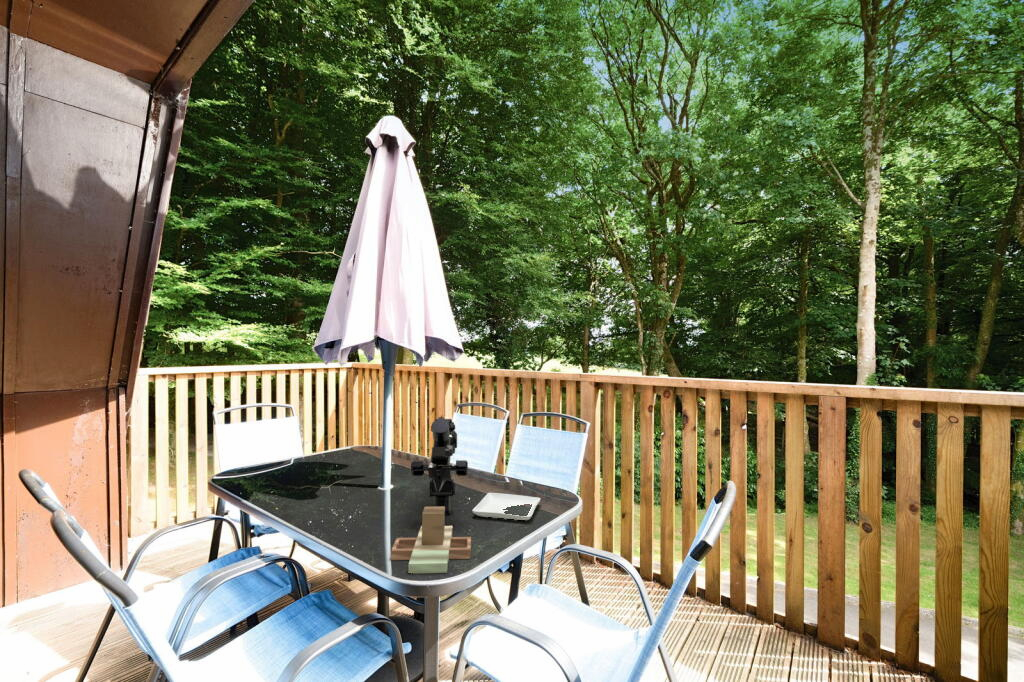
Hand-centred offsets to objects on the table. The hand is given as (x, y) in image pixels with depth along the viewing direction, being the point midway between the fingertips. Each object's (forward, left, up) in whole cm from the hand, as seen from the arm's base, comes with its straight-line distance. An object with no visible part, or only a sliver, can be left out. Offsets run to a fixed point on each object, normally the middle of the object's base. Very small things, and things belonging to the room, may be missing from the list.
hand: (437, 491), depth 149 cm
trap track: (+15, 0, -13) cm, 20 cm away
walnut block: (+13, 0, -10) cm, 17 cm away
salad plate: (-18, +24, -13) cm, 33 cm away
